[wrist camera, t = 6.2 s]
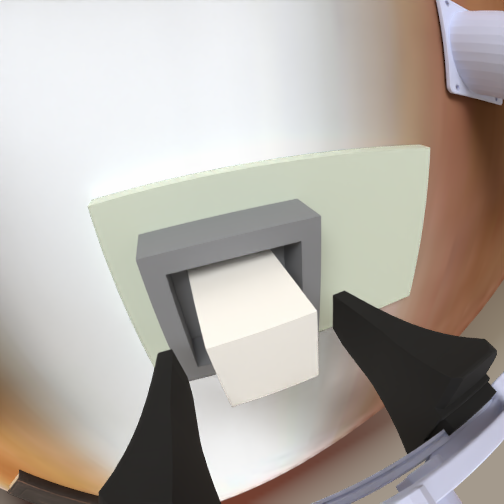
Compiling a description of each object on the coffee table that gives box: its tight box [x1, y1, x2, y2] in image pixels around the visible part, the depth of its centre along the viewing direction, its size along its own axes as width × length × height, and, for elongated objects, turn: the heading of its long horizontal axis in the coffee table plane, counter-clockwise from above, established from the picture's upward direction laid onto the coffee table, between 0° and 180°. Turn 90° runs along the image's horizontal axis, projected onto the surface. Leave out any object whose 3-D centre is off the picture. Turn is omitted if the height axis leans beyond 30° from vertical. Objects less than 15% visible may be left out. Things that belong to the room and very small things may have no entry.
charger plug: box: [187, 249, 318, 407], centre depth 13 cm, size 4×4×6 cm
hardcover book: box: [7, 470, 99, 504], centre depth 28 cm, size 16×23×2 cm
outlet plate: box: [88, 145, 430, 381], centre depth 16 cm, size 20×12×4 cm, turn 97°
